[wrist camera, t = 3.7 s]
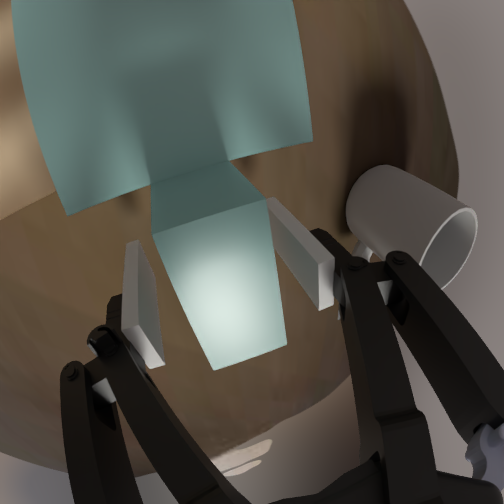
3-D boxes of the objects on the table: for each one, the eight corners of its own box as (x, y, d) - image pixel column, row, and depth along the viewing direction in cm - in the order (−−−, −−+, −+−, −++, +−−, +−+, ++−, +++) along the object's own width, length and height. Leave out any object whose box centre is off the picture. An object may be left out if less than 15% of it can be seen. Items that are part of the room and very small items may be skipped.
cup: (414, 188, 25) (484, 232, 17) (357, 270, 28) (413, 330, 21) (375, 146, 21) (462, 187, 14) (308, 246, 24) (371, 318, 17)
